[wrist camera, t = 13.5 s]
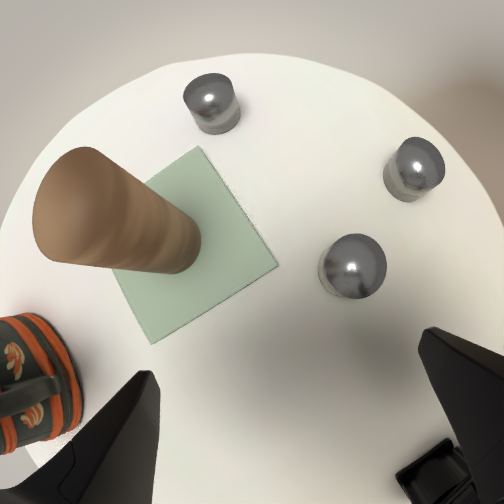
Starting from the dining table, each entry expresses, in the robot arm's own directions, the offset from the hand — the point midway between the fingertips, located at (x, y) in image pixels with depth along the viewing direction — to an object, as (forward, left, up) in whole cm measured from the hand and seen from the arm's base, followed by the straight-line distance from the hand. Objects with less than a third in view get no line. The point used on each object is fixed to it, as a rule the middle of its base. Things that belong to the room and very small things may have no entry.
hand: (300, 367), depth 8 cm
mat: (-5, +10, -13) cm, 17 cm away
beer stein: (-26, +7, -13) cm, 30 cm away
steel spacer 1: (+4, +18, -13) cm, 22 cm away
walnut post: (-5, +10, -12) cm, 16 cm away
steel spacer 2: (+5, +1, -13) cm, 14 cm away
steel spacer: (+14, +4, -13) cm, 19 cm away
